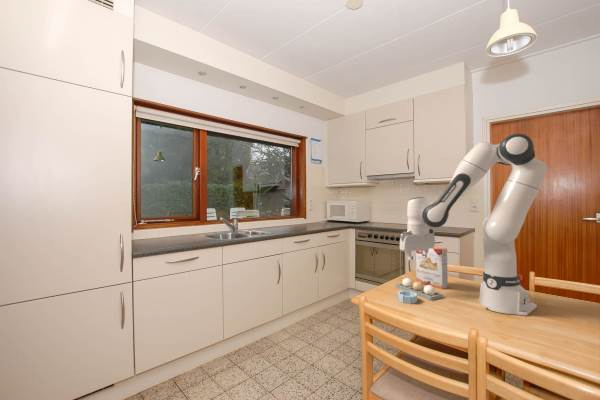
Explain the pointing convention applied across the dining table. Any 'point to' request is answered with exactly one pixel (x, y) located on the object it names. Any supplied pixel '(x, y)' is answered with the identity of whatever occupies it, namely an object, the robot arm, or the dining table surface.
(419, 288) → the brown egg
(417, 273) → the cracker box
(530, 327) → the dining table surface
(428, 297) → the carton
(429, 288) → the cream egg
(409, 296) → the egg cup
